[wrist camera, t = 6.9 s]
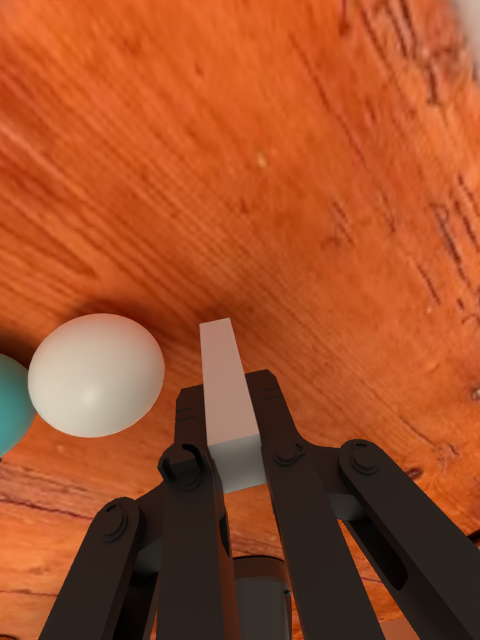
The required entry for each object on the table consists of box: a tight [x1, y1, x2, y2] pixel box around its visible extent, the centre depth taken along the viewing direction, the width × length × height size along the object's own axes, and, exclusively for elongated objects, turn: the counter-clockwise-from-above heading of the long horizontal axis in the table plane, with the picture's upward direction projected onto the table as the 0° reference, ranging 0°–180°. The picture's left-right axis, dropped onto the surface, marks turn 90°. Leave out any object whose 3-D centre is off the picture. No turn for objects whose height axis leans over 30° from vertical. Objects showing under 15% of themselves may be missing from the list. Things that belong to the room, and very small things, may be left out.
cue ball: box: [28, 313, 165, 438], centre depth 13 cm, size 6×6×6 cm
